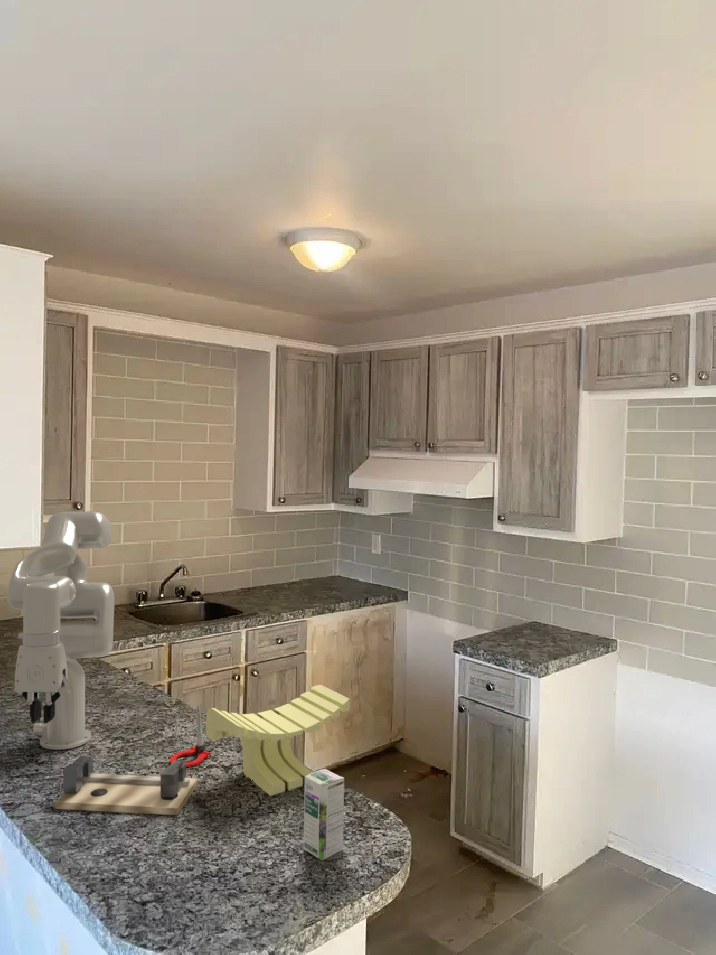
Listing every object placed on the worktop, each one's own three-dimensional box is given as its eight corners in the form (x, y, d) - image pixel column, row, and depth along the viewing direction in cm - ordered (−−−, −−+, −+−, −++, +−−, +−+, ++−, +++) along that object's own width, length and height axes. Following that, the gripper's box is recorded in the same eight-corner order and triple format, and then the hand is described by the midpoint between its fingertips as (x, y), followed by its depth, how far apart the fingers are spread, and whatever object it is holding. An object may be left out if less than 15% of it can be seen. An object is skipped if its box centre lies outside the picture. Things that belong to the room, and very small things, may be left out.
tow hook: (185, 773, 173) (214, 758, 180) (182, 720, 172) (212, 708, 179) (162, 764, 178) (191, 750, 185) (160, 713, 177) (189, 701, 184)
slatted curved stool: (313, 749, 186) (314, 681, 186) (349, 771, 173) (349, 698, 173) (206, 779, 169) (206, 704, 168) (236, 806, 156) (236, 725, 155)
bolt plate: (55, 808, 154) (55, 776, 154) (85, 779, 168) (85, 749, 168) (177, 815, 152) (177, 782, 151) (197, 784, 166) (197, 755, 165)
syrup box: (302, 849, 139) (302, 776, 138) (325, 838, 143) (325, 766, 143) (321, 861, 135) (322, 786, 134) (344, 849, 139) (345, 776, 138)
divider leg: (63, 792, 157) (63, 769, 157) (80, 776, 165) (80, 753, 165) (76, 793, 157) (76, 770, 157) (93, 776, 165) (93, 754, 165)
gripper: (-3, 641, 155) (-2, 725, 156) (68, 644, 154) (68, 728, 154) (16, 633, 163) (17, 713, 163) (84, 635, 161) (85, 716, 162)
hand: (42, 720), depth 159 cm, fingers closed
